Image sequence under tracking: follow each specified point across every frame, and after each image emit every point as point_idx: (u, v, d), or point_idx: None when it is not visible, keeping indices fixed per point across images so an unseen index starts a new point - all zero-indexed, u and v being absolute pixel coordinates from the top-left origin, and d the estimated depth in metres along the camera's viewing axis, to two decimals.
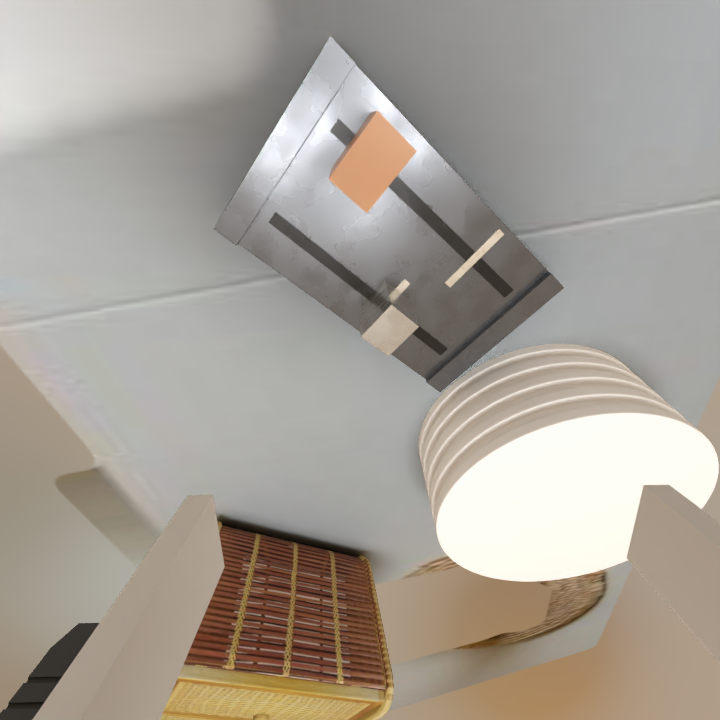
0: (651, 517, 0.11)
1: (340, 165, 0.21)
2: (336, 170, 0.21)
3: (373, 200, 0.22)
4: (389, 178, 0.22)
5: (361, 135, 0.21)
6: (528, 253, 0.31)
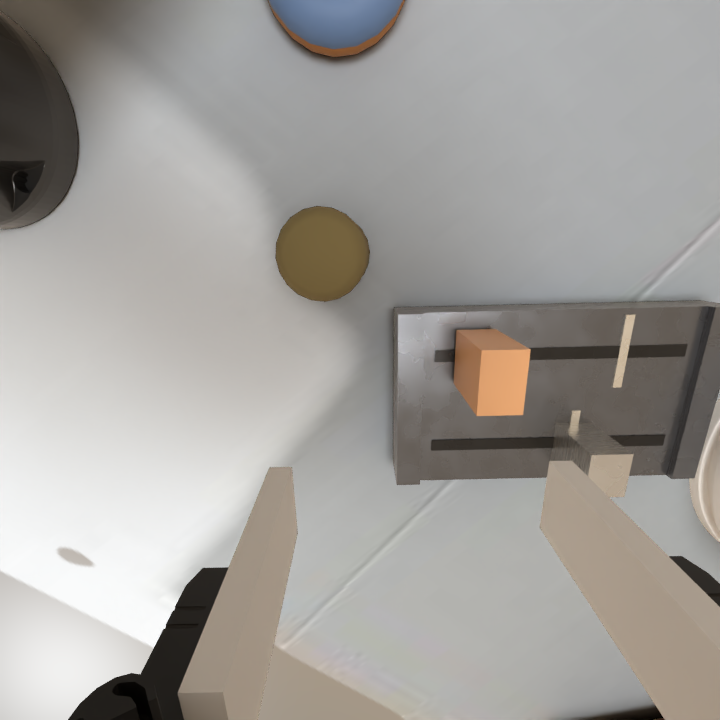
0: (553, 489, 0.12)
1: (479, 401, 0.23)
2: (478, 406, 0.23)
3: (521, 403, 0.23)
4: (523, 381, 0.23)
5: (480, 372, 0.23)
6: (673, 309, 0.28)
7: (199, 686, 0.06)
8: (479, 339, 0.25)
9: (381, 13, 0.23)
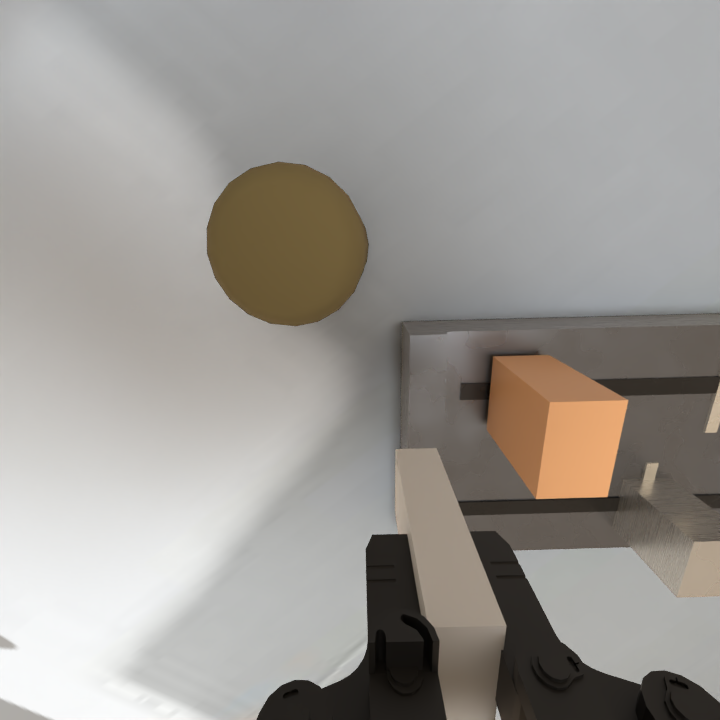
0: None
1: (541, 477, 0.15)
2: (539, 485, 0.15)
3: (606, 480, 0.15)
4: (612, 447, 0.15)
5: (546, 435, 0.14)
6: None
7: (445, 622, 0.07)
8: (535, 376, 0.17)
9: None
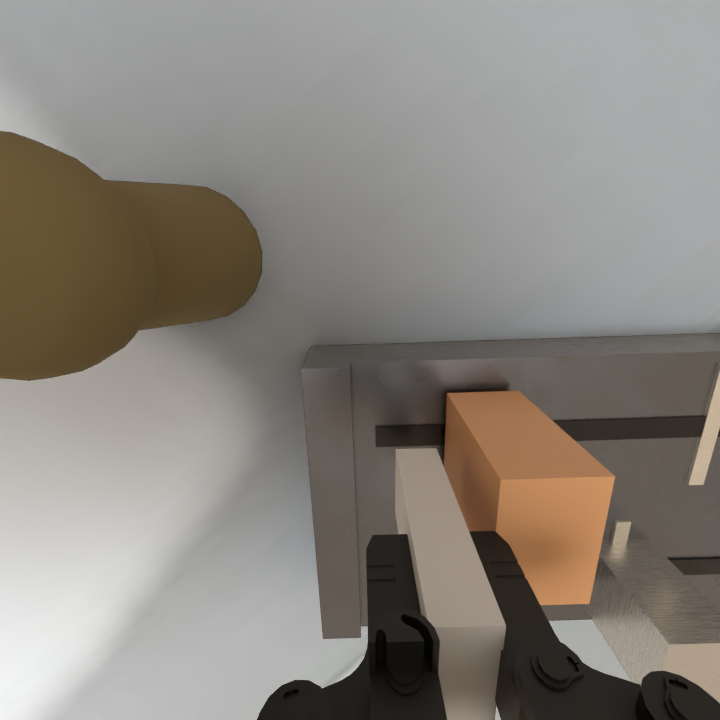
0: None
1: None
2: None
3: (587, 582, 0.11)
4: (593, 540, 0.10)
5: (498, 524, 0.10)
6: None
7: (445, 622, 0.07)
8: (492, 428, 0.12)
9: None
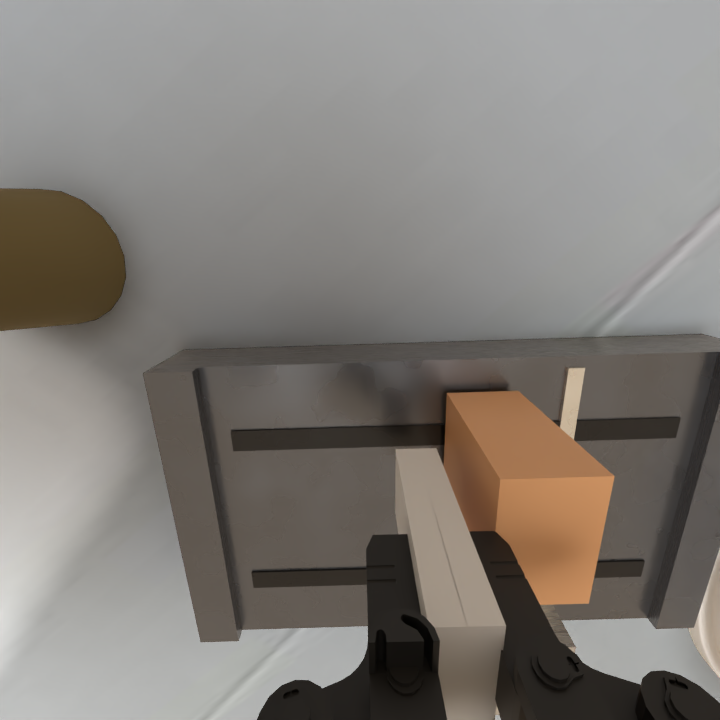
0: None
1: None
2: None
3: (586, 581, 0.11)
4: (593, 539, 0.10)
5: (498, 524, 0.10)
6: (654, 357, 0.15)
7: (445, 622, 0.07)
8: (491, 428, 0.12)
9: None
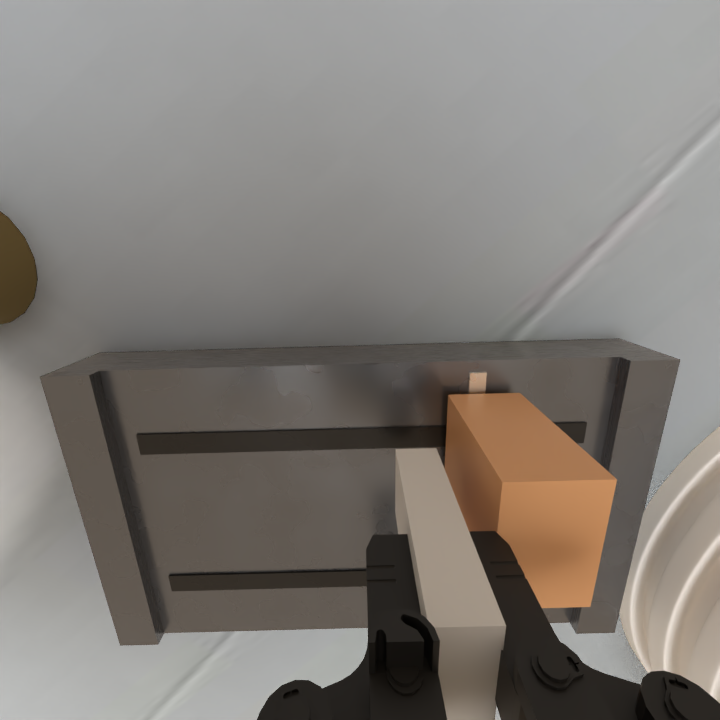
0: None
1: None
2: None
3: (588, 585, 0.11)
4: (595, 543, 0.10)
5: (499, 527, 0.10)
6: (556, 362, 0.15)
7: (445, 622, 0.07)
8: (493, 431, 0.12)
9: None
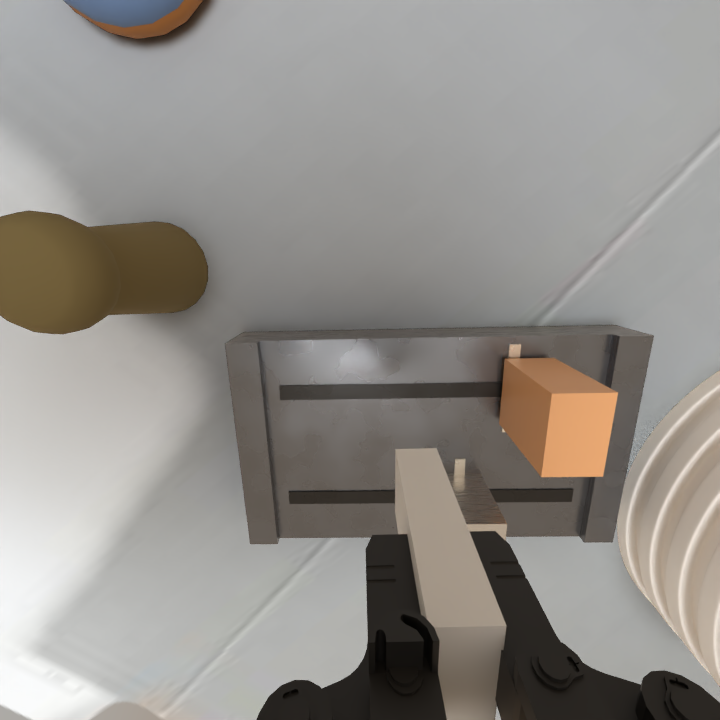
0: None
1: (545, 458, 0.18)
2: (544, 465, 0.18)
3: (601, 461, 0.18)
4: (605, 433, 0.17)
5: (549, 422, 0.17)
6: (569, 337, 0.23)
7: (445, 622, 0.07)
8: (540, 374, 0.19)
9: None
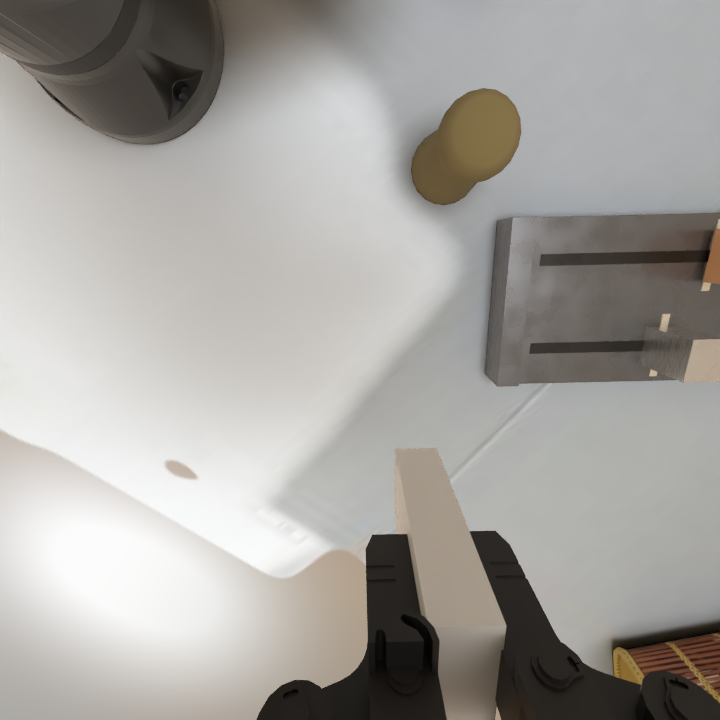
0: None
1: None
2: None
3: None
4: None
5: None
6: None
7: (444, 622, 0.07)
8: None
9: None
